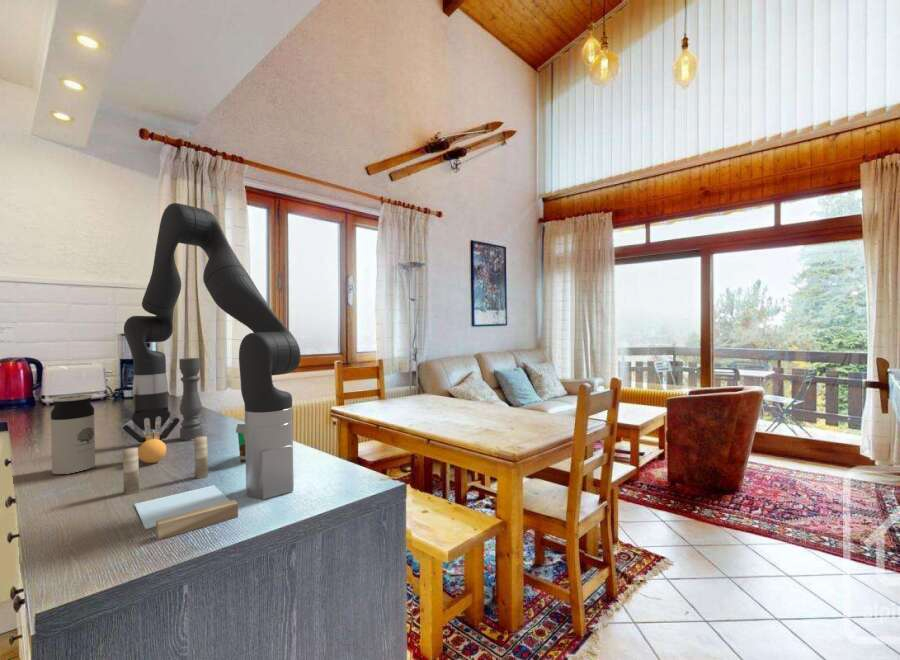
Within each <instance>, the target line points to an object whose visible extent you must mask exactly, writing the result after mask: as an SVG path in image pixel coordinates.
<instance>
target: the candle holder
mask: <svg viewBox="0 0 900 660" xmlns="http://www.w3.org/2000/svg"><path fill="white" fill-rule="evenodd" d="M178 360H179V370H180V373H181V374H182V377H180V381H181V382H182V384H183V392H182V393H183V394H182V396H181V401H180V405H179V412H180V415H182V418H183V420H182V421H181V422H180V426H181V427H180V428H179V440H180V439H181V440H180V441H182V440H190V441H192V440H191V439H194V438H196V437H200V436H204V433H203V431H204V430H203V427H204V426H203V425H202V420H201V419H200V418H199V417H200V414H201V413H202V410H203V405H202V401H201V398H200V395H199V390H198V382H199V381H200V380H201V378H200V376H198V374H199V372H200V369H201V358H200V357H189V358H179V359H178Z"/></svg>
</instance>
